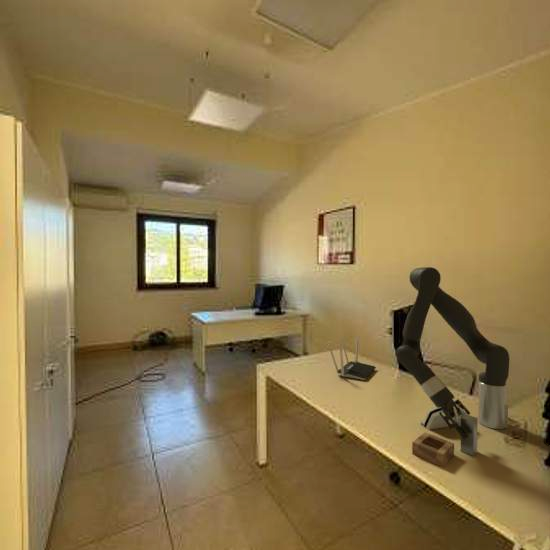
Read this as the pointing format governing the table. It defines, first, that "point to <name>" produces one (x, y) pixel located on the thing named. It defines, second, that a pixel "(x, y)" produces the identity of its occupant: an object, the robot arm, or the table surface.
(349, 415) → the table surface
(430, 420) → the white rounded block
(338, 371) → the wireless router
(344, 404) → the table surface
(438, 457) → the socket block
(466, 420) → the square bit
